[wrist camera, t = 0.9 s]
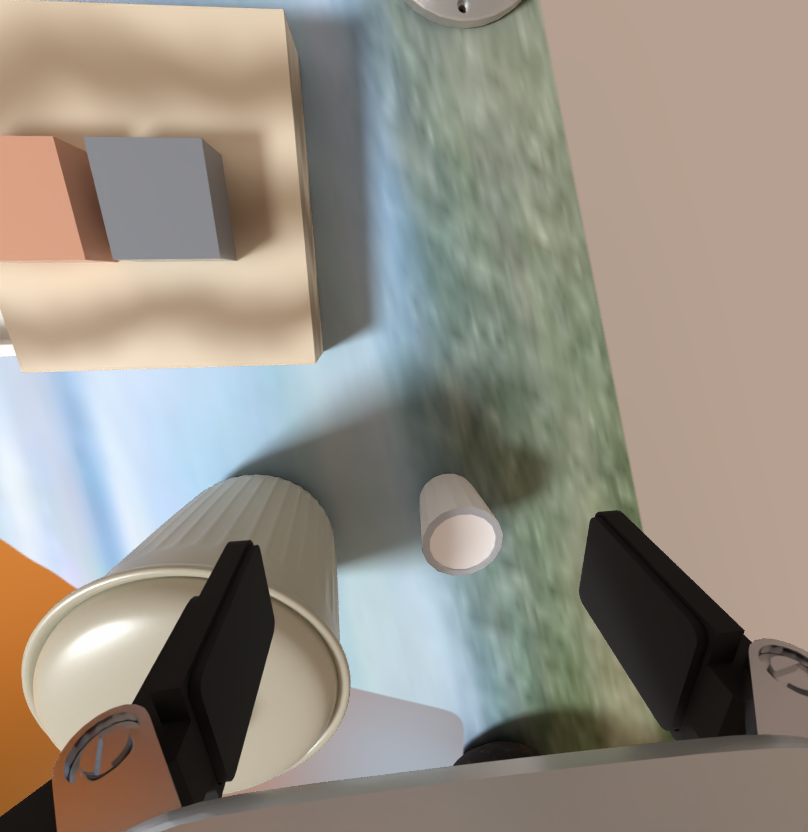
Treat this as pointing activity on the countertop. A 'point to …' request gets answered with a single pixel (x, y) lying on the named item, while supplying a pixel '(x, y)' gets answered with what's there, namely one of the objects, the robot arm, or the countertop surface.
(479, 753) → the dark brown vase
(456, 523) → the shot glass
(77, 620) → the canister
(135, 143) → the slate tile
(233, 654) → the robot arm
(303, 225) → the board
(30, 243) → the terracotta tile
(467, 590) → the countertop surface
